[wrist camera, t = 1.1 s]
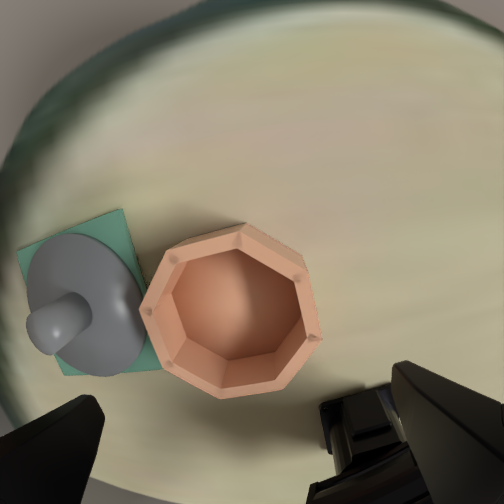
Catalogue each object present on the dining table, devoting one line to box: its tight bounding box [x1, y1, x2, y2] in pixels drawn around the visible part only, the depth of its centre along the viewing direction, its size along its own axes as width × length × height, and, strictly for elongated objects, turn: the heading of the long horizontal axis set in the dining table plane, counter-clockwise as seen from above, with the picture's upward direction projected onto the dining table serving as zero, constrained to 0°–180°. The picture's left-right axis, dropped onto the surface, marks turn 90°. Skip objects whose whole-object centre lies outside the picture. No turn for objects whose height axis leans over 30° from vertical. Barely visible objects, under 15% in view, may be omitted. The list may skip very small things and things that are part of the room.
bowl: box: [139, 223, 323, 399], centre depth 18 cm, size 10×10×4 cm
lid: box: [26, 233, 147, 377], centre depth 18 cm, size 12×12×5 cm
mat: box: [16, 209, 163, 376], centre depth 21 cm, size 12×12×1 cm
